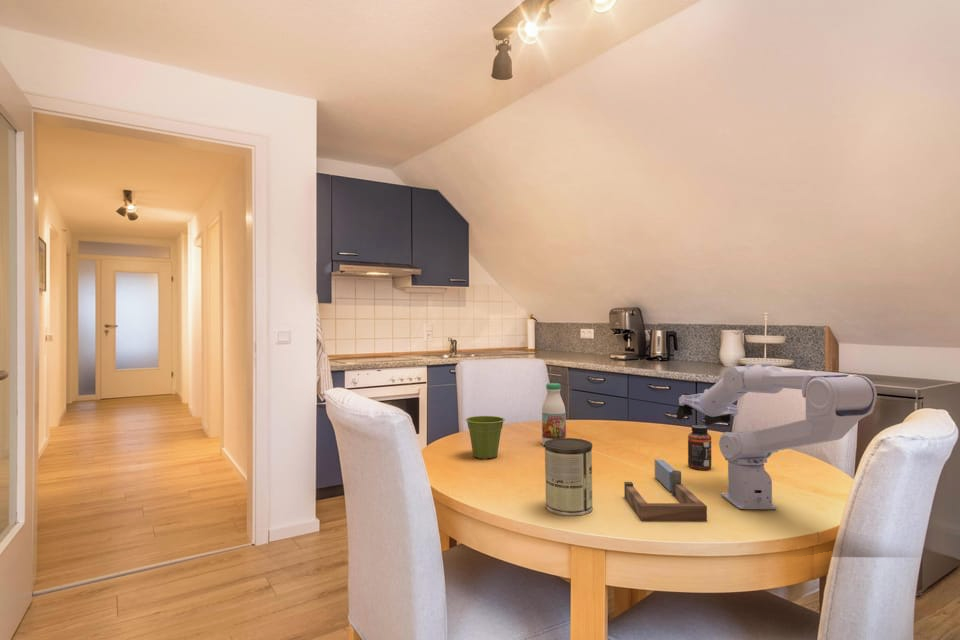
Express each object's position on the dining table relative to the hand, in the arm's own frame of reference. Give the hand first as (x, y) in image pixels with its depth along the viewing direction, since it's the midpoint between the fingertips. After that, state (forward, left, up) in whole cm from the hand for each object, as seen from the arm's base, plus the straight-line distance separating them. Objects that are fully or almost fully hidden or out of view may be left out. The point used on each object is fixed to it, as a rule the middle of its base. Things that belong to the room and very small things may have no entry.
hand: (692, 418), depth 138 cm
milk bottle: (+34, +32, -15) cm, 49 cm away
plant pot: (+20, +54, -15) cm, 60 cm away
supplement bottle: (+8, -5, -15) cm, 18 cm away
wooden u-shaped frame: (-23, +15, -15) cm, 31 cm away
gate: (-7, +9, -15) cm, 19 cm away
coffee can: (-23, +35, -15) cm, 45 cm away
